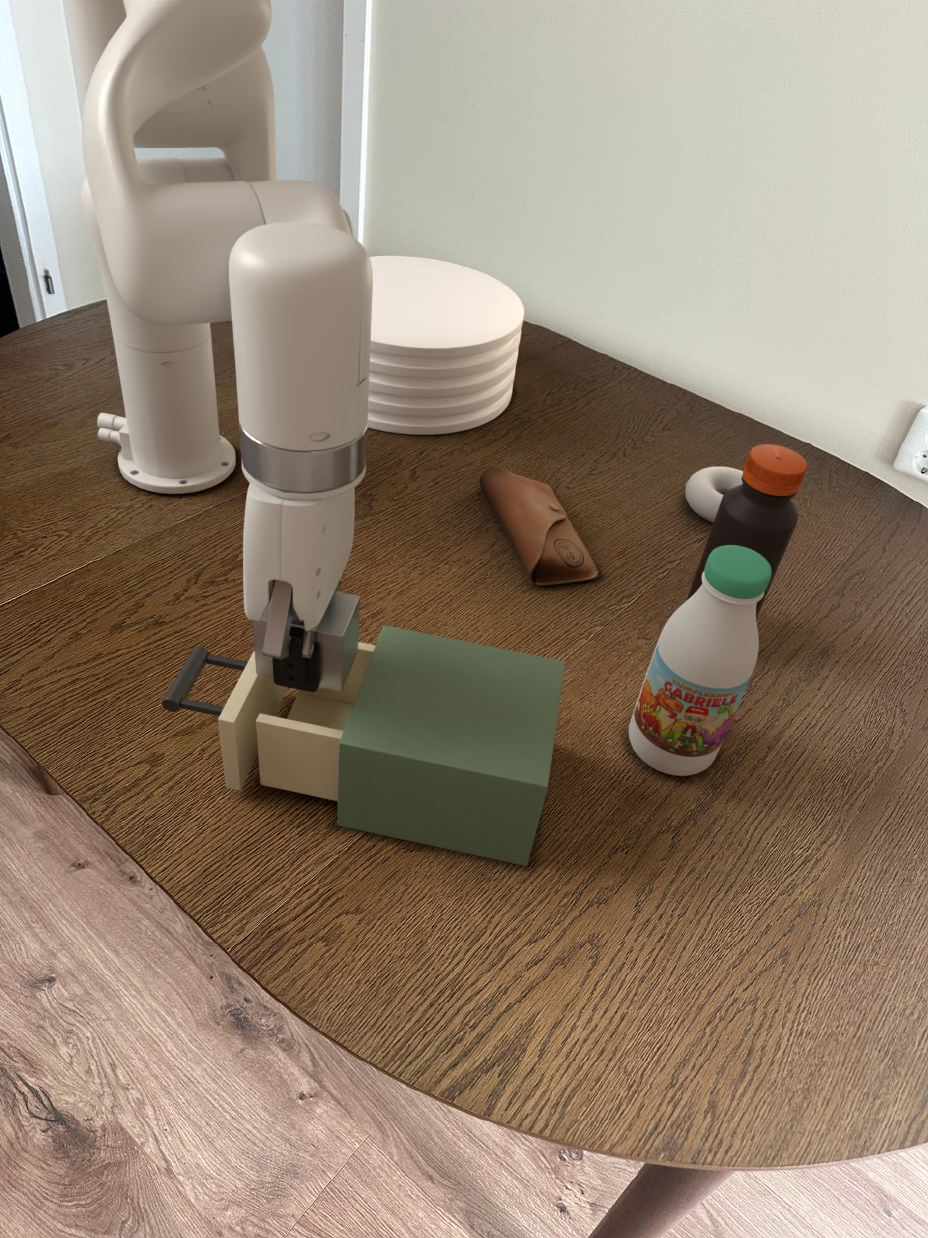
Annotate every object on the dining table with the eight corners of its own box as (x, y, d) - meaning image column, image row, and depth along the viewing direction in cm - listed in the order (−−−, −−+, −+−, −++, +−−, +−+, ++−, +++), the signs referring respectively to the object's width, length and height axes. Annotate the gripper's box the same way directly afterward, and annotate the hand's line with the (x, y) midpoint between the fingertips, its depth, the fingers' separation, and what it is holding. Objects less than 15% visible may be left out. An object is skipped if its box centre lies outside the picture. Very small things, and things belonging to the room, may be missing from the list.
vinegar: (665, 616, 91) (723, 443, 78) (720, 604, 94) (785, 433, 80) (703, 662, 87) (771, 486, 74) (760, 647, 89) (836, 474, 76)
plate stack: (393, 317, 137) (398, 240, 130) (550, 383, 126) (565, 303, 119) (258, 377, 119) (254, 291, 111) (427, 460, 108) (436, 371, 101)
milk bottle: (618, 710, 81) (676, 528, 68) (701, 710, 82) (774, 531, 69) (637, 779, 75) (705, 595, 62) (726, 779, 76) (811, 598, 63)
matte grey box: (255, 674, 66) (252, 617, 62) (276, 634, 69) (273, 578, 65) (342, 692, 65) (343, 636, 62) (358, 651, 68) (360, 595, 65)
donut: (762, 543, 103) (769, 497, 110) (772, 519, 101) (779, 473, 108) (675, 519, 105) (688, 475, 112) (683, 495, 102) (695, 451, 110)
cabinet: (337, 825, 69) (338, 743, 62) (378, 707, 78) (383, 624, 72) (526, 867, 68) (548, 787, 61) (545, 741, 77) (565, 661, 71)
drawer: (153, 772, 70) (140, 703, 64) (211, 670, 78) (203, 602, 73) (398, 825, 68) (404, 758, 63) (429, 715, 77) (437, 649, 72)
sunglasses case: (606, 575, 94) (586, 534, 90) (546, 608, 95) (523, 569, 90) (545, 480, 107) (525, 439, 102) (493, 509, 108) (470, 470, 103)
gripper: (289, 373, 61) (294, 582, 73) (188, 511, 49) (214, 735, 61) (397, 393, 61) (384, 600, 73) (323, 537, 48) (323, 758, 60)
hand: (307, 659), depth 67 cm, fingers closed on matte grey box, 4 cm apart
